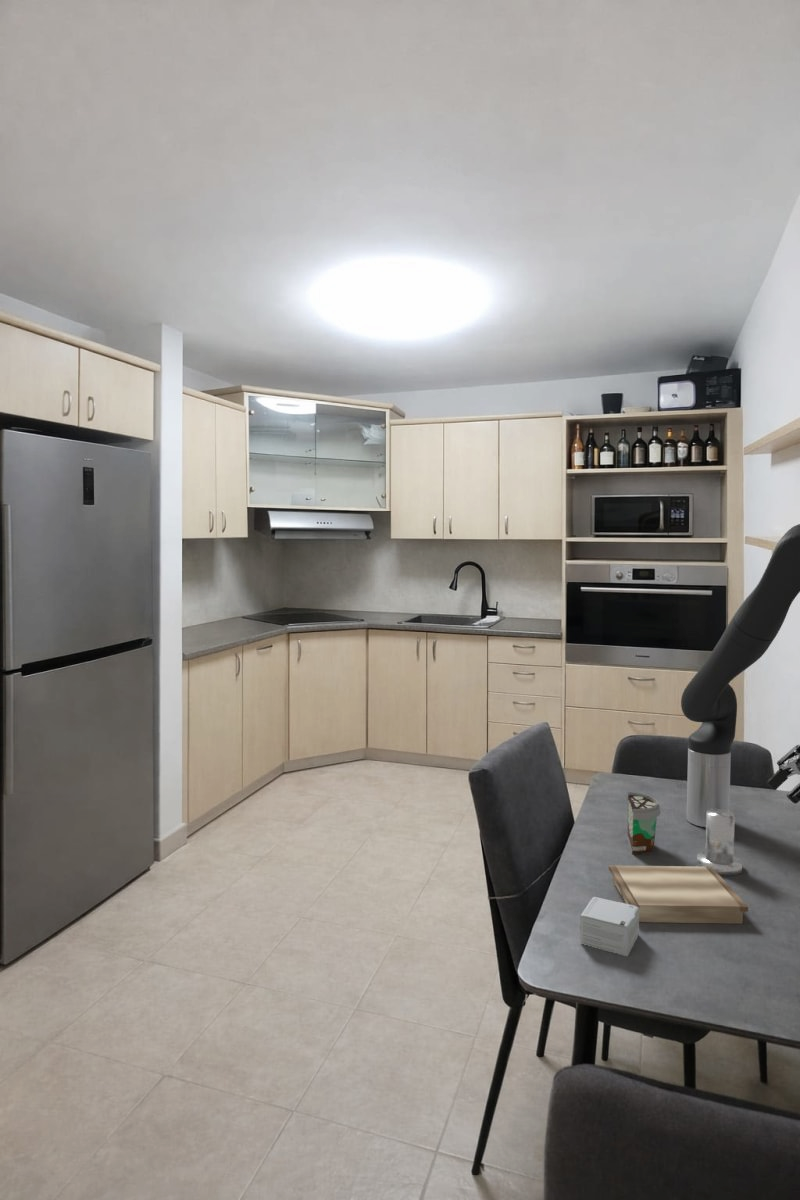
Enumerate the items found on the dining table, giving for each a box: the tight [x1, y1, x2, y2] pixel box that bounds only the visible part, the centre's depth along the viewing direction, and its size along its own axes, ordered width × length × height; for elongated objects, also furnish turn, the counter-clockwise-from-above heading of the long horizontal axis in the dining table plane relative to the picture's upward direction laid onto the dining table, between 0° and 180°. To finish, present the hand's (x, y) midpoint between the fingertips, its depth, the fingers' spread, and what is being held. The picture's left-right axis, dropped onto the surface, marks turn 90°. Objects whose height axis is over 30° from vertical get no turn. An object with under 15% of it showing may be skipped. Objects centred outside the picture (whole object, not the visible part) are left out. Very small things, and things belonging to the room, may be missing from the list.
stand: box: [608, 864, 749, 925], centre depth 135 cm, size 16×20×3 cm
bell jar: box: [696, 809, 743, 877], centre depth 149 cm, size 8×8×11 cm
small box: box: [579, 896, 640, 957], centre depth 121 cm, size 8×8×5 cm
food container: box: [626, 791, 661, 855], centre depth 159 cm, size 12×6×10 cm, turn 168°
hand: (780, 793), depth 148 cm, fingers open, 8 cm apart
